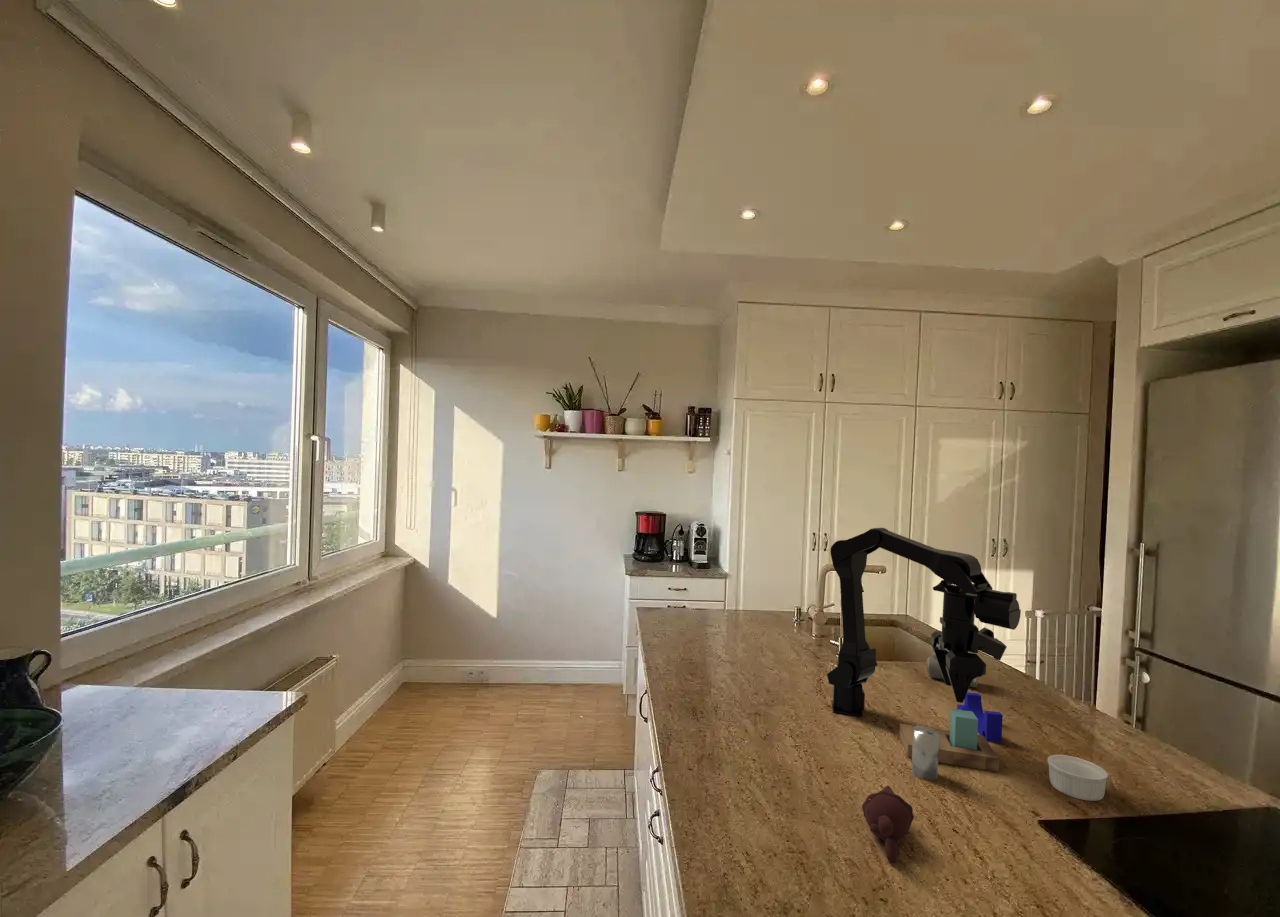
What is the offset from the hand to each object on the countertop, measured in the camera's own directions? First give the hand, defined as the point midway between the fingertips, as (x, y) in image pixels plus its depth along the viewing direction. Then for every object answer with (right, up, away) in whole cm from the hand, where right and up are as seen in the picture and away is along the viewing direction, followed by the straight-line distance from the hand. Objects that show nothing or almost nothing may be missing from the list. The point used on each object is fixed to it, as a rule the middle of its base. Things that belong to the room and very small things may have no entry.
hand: (953, 693), depth 121 cm
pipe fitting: (+21, -13, +41) cm, 47 cm away
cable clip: (+11, -13, +11) cm, 20 cm away
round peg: (-11, -11, -10) cm, 18 cm away
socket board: (-2, -12, -1) cm, 12 cm away
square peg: (+1, -12, -2) cm, 12 cm away
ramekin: (+15, -13, -13) cm, 24 cm away
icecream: (-26, -11, -29) cm, 40 cm away
